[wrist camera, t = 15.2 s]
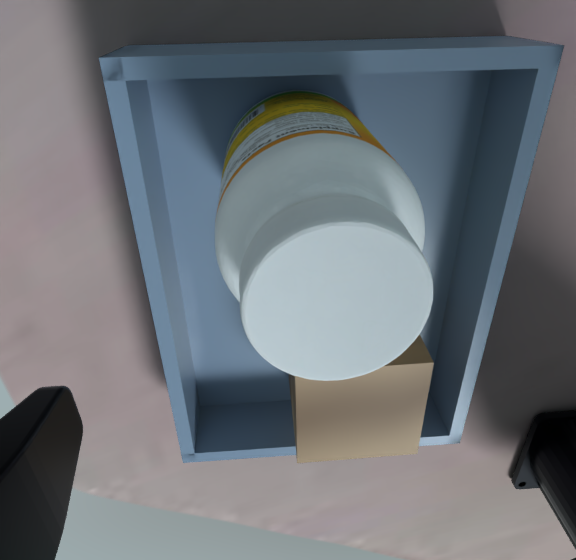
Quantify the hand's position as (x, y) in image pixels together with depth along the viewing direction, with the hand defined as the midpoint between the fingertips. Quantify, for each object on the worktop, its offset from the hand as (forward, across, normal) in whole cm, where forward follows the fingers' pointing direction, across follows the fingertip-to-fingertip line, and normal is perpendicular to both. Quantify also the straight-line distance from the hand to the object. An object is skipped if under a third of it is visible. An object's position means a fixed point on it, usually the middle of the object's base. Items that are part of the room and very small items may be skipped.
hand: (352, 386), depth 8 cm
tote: (+12, -1, +5) cm, 13 cm away
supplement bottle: (+12, 0, 0) cm, 12 cm away
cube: (+12, -2, +8) cm, 15 cm away
